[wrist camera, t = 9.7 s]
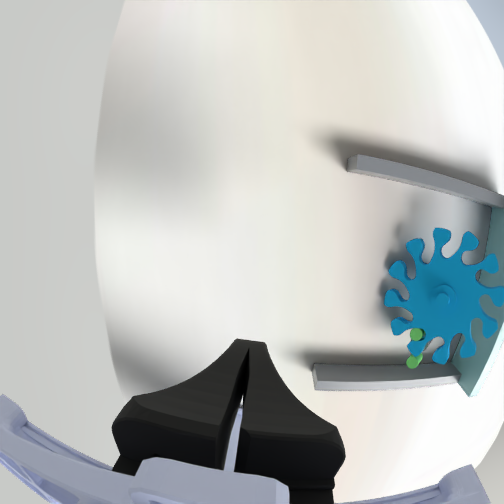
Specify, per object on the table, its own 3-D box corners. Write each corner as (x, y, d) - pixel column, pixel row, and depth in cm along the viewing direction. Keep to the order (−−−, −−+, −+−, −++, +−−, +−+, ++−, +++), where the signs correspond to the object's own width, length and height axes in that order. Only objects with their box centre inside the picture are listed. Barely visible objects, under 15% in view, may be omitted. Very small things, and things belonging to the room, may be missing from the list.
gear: (412, 203, 17) (529, 268, 10) (430, 210, 21) (520, 261, 14) (355, 332, 21) (446, 401, 14) (383, 315, 25) (459, 370, 18)
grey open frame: (455, 368, 21) (476, 395, 16) (312, 372, 22) (317, 411, 17) (500, 199, 17) (535, 204, 12) (348, 158, 18) (370, 148, 13)
